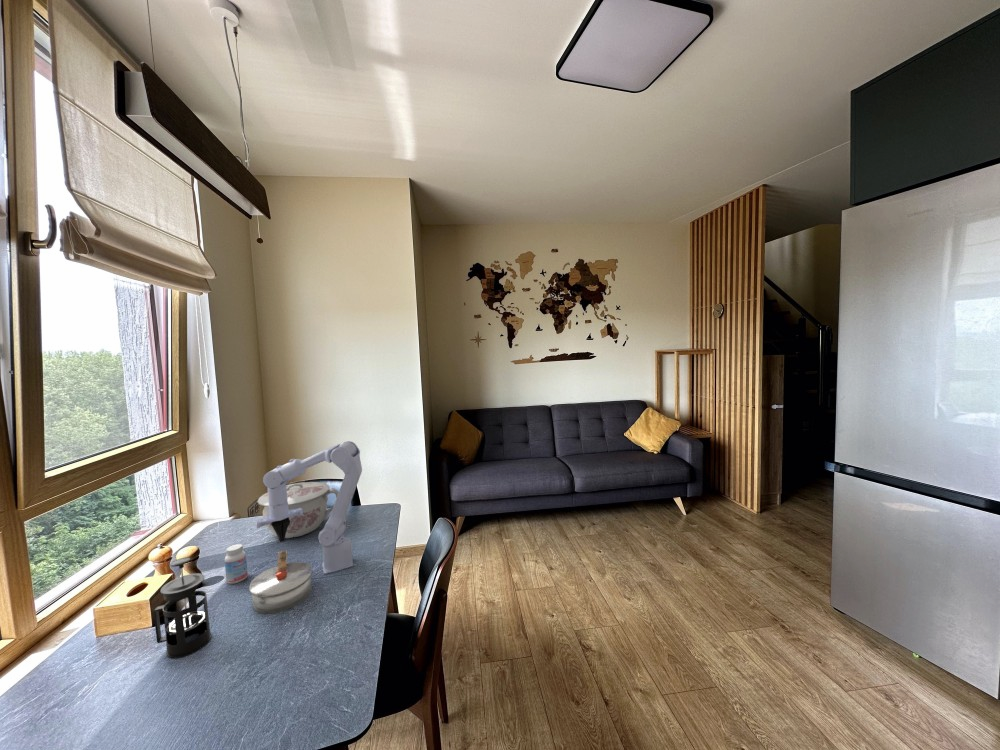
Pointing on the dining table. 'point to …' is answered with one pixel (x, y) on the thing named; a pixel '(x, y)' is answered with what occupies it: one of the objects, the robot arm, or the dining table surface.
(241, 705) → the dining table surface
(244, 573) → the pill bottle
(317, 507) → the chamber pot
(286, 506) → the robot arm
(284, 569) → the cooker lid
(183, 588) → the french press
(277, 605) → the white oval dish
